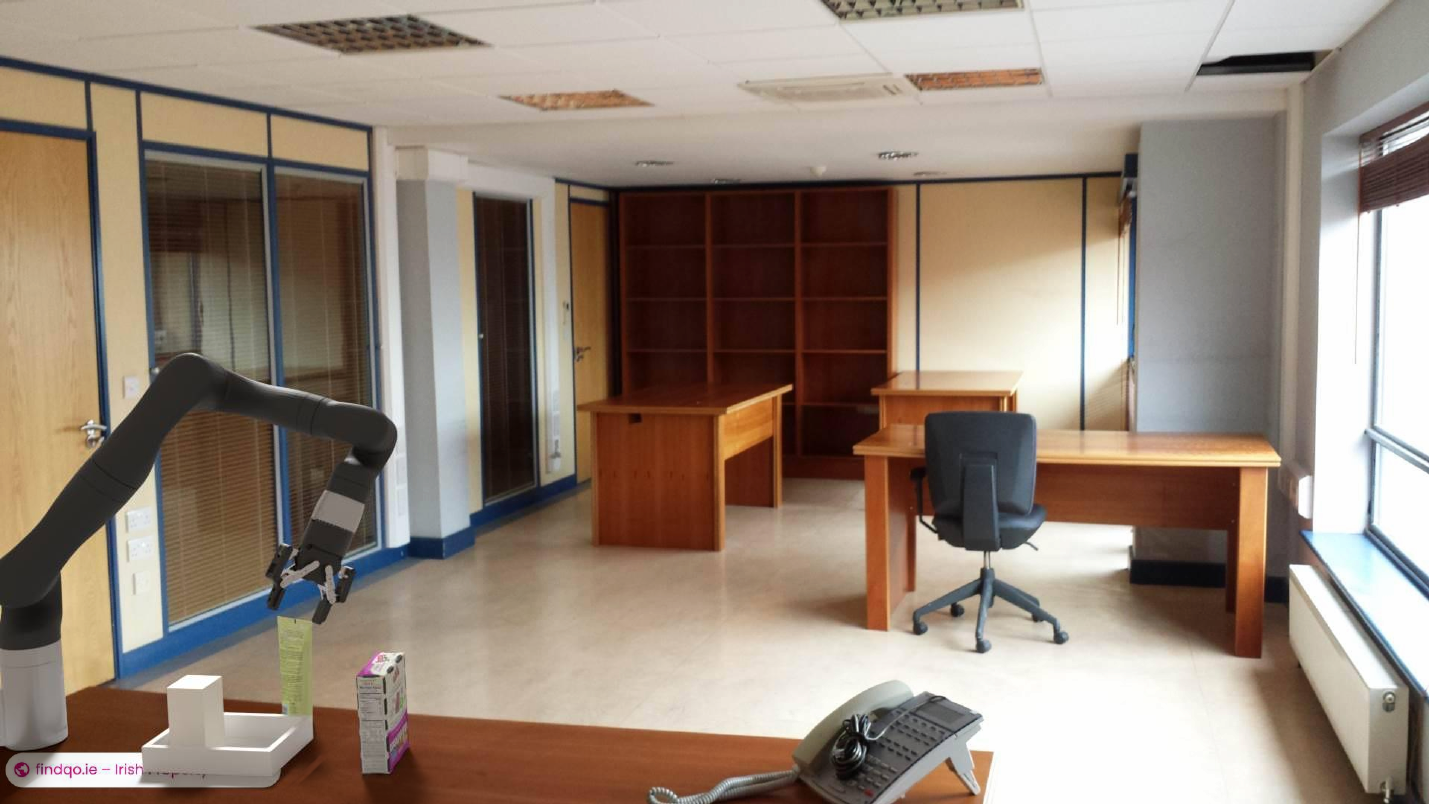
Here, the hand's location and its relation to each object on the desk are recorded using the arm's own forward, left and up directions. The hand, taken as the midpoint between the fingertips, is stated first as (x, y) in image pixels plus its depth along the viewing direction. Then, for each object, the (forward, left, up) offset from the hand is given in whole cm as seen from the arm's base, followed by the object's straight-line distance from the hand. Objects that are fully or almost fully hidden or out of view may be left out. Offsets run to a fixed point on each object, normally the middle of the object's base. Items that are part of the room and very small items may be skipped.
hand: (293, 616), depth 193 cm
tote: (-10, -4, -23) cm, 25 cm away
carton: (-15, -4, -22) cm, 27 cm away
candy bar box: (+15, -2, -23) cm, 28 cm away
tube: (-5, +10, -23) cm, 26 cm away
